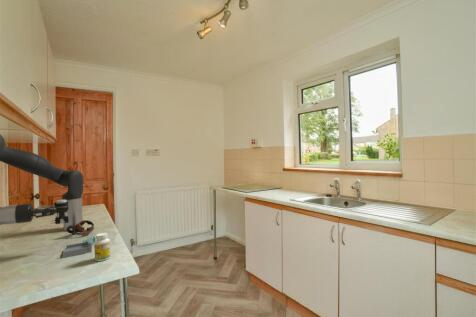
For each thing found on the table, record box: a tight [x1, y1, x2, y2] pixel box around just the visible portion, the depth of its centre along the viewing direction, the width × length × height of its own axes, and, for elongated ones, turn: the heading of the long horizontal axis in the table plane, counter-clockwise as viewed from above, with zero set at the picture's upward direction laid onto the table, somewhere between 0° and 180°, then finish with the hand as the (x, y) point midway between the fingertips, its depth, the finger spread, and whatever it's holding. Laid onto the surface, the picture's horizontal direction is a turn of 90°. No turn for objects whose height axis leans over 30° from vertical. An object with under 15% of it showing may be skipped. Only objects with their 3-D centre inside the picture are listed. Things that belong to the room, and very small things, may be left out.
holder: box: [61, 236, 93, 259], centre depth 103 cm, size 9×10×4 cm
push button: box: [50, 199, 69, 225], centre depth 106 cm, size 7×5×10 cm
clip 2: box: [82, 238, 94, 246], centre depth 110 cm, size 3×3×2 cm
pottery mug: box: [66, 219, 95, 237], centre depth 125 cm, size 12×9×8 cm
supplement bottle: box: [93, 232, 111, 262], centre depth 94 cm, size 5×5×10 cm
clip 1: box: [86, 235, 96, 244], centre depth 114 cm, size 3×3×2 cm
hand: (67, 208), depth 107 cm, fingers closed on push button, 3 cm apart
